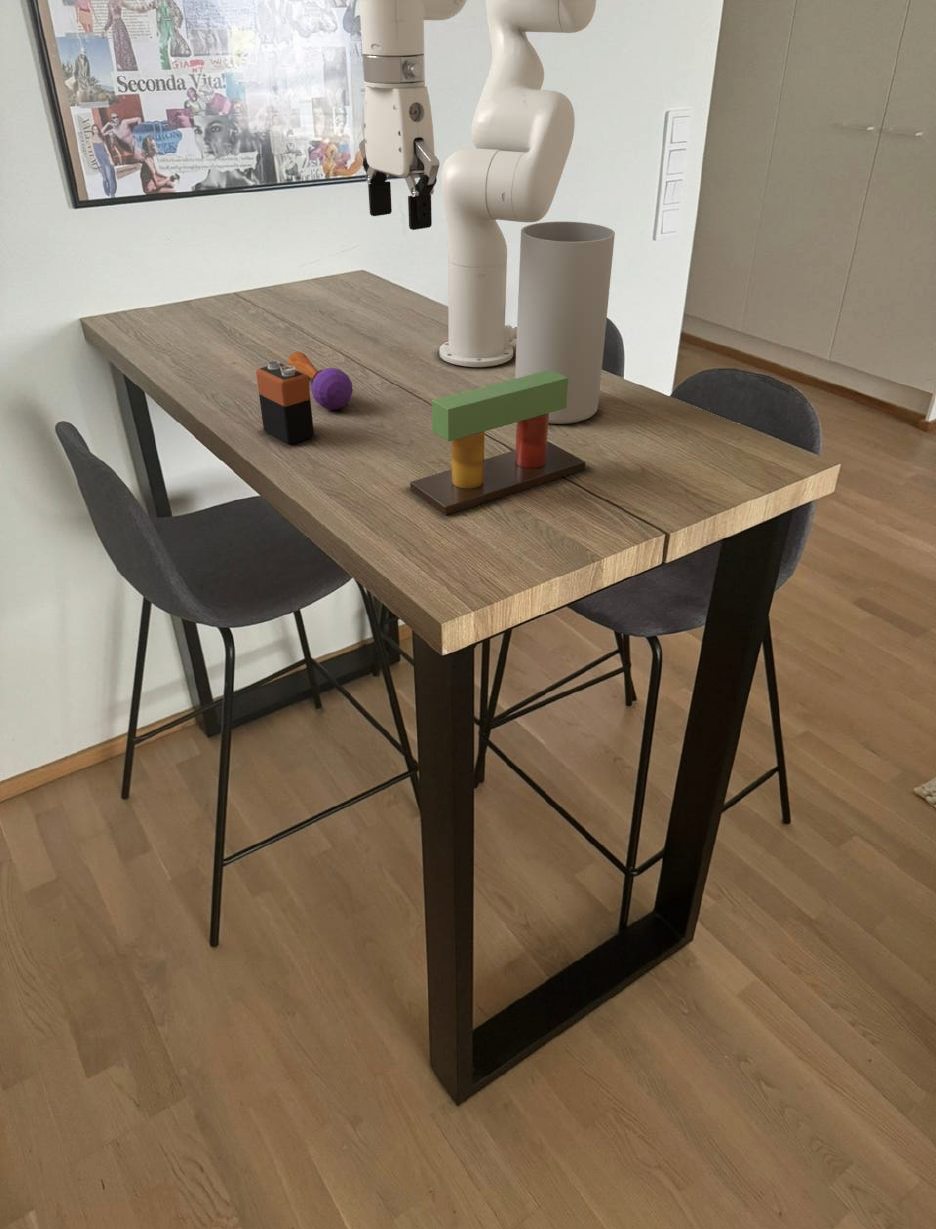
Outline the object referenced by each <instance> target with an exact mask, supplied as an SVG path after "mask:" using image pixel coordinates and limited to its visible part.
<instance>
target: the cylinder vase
mask: <svg viewBox="0 0 936 1229" xmlns="http://www.w3.org/2000/svg"><path fill="white" fill-rule="evenodd" d="M615 235H616V232H615V230H613V229H612V228H610V227H607V226H604V225H601V224H595V223H590V222H582V221H581V222H580V221H544V222H535V223H531V224H527V225H525V226H523V227H521V229H520V242H519V243H520V244H519V245H520V246H519V267H518V268H519V270H518V271H519V272H518V294H517V295H518V296H517V318H516V320H517V322H516V327H517V338H516V344H515V367H514V368H515V370H514V372H515V373H514V379H516V378H520V377H524V376H528V375H532V374H536V373H540V372H544V371H548V370H552V371H554V372H556V373H559V374H561V375H563V376H565V377H567V378H568V390H567V403H566V408H565V409H562V410H558V411H555V412H551V413H549V420H548V424H553V425H564V424H567V425H568V424H574V423H580V422H582V421H585V420H586V421H587V420H589V418H591V417H593V416H594V415H595V414H596V413H597V411H598V408H599V402H600V391H601V383H602V382H601V381H602V373H603V372H602V370H603V360H604V351H605V350H604V349H605V342H606V340H605V339H606V328H607V319H608V318H607V317H608V307H609V300H610V287H611V279H612V268H613V258H614V257H613V256H614V247H615V246H614V245H615Z"/></svg>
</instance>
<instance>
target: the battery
mask: <svg viewBox="0 0 936 1229" xmlns="http://www.w3.org/2000/svg"><path fill="white" fill-rule="evenodd" d="M267 364H268V365H267V366H263V367H259V368H257V369H256V370H255V374H256V382H257V389H258V396H259V397H258V398H259V404H260V405H259V406H260V412H261V421H262V427H263V431H264V432H266V433H267V434H269V435H271V436H273V437H275V438H277V439H278V440H280V441H282V442H284V443H286V444H287V445H294V444H297V443H300V442H302V441H306V440H309V439H312V438H313V437H314V436H315V432H314V422H313V412H312V402H311V401H312V400H311V392H310V391H311V389H310V382H309V381H310V380H309V379H310V378H308V375H307V374H305V373H302V372H300V371H298V370H296V369H295V367H294V366H289V365H287V364H285V363H283V362H280V361H279V360H270V361H268V362H267Z"/></svg>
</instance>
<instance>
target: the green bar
mask: <svg viewBox="0 0 936 1229" xmlns="http://www.w3.org/2000/svg"><path fill="white" fill-rule="evenodd" d="M567 390H568V378H567V377H565V376H563V375H561V374H559V373H556V372H554V371H552V370H548V371H544V372H540V373H536V374H532V375H528V376H524V377H520V378H516V379H515V378H512V379H509V380H505V381H501V382H496V383H493V384H489V385H486V386H481V387H477V388H474V389H470V390H465V391H462V392H457V393H454V394H450V395H446V396H441V397H438V398H434V399H431V430H432V431H431V432H432V433H434V434H436V435H437V436H438V437H440V438H442V439H444V440H445V441H446V442H451V441H452V440H456V439H459V438H463V437H466V436H470V435H473V434H477V433H480V432H484V431H485V432H487V431H490V430H494V429H498V428H502V427H505V426H508V425H512V424H515V423H516V424H517V422H519V421H523V420H526V419H530V418H533V417H537V416H541V415H544V414H548V413H551V412H555V411H558V410H562V409H565V408H566V403H567Z"/></svg>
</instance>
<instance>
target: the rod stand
mask: <svg viewBox="0 0 936 1229" xmlns="http://www.w3.org/2000/svg"><path fill="white" fill-rule="evenodd" d="M548 420H549V413H548V414H544V415H541V416H537V417H533V418H530V419H526V420H523V421H519V422H516V430H515V450H512V451H508V452H504V453H501V454H498V455H495V456H491V457H488V458H485V437H486V436H485V432H486V431H484V432H480V433H477V434H473V435H470V436H466V437H463V438H459V439H456V440H452V441H450V442H451V469H449V470H445V471H441V472H438V473H435V474H432V475H429V476H425V477H422V478H418V479H415V480H411V481H410V483H409V484H410V485H409V488H410V492H412V493H413V494H415V495H417V497H419V498H421V499H422V500H423V501H425V502H426V503H427V504H429V505H430V506H432V508H435V509H436V510H437V511H439V512H440V513H442V514H443V515H444V516H448V515H452V514H454V513H455V514H456V513H457V512H461V511H464V510H467V509H471V508H473V507H476V506H480V505H482V504H485V503H489V502H491V501H494V500H497V499H500V498H503V497H506V496H509V495H513V494H515V493H519V492H521V491H524V490H528V489H531V488H533V487H536V486H539V485H543V484H546V483H549V482H551V481H555V480H557V479H561V478H563V477H567V476H570V475H573V474H576V473H579V472H582V471H584V470H586V461H585V460H583V459H581V458H580V457H578V456H576V455H574V454H572V453H570V452H569V451H567V450H565V449H563V448H561V447H559V446H557V445H556V444H554V443H552V442H550V441H548V436H549V435H548V434H549V423H548Z"/></svg>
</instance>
